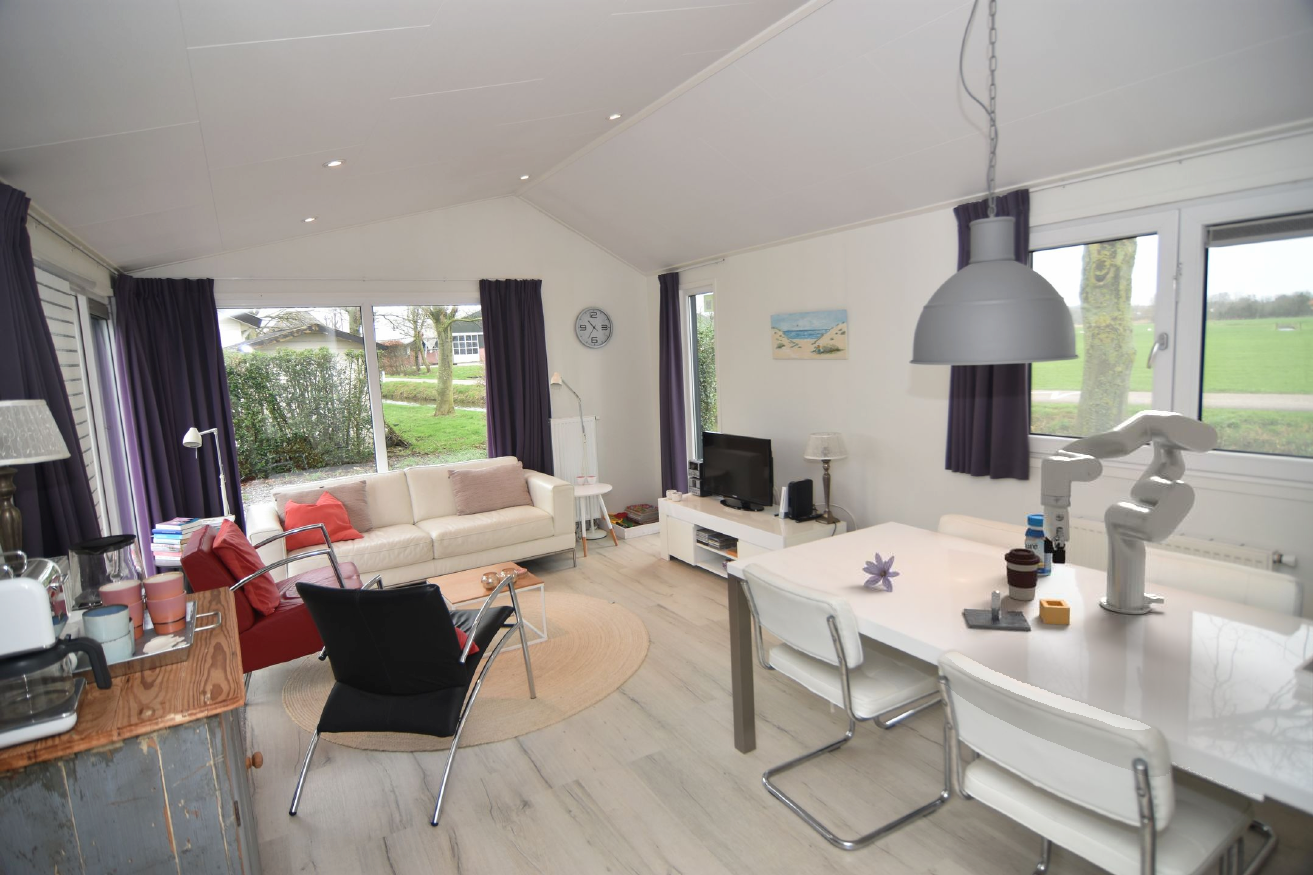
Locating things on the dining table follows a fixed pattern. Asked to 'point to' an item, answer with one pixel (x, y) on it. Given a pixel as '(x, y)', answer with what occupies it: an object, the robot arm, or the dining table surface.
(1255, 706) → the dining table surface
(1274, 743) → the dining table surface
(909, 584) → the dining table surface
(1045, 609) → the orange hollow square block
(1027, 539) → the beverage bottle
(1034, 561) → the coffee cup
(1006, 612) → the keeper
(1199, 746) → the dining table surface
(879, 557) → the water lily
